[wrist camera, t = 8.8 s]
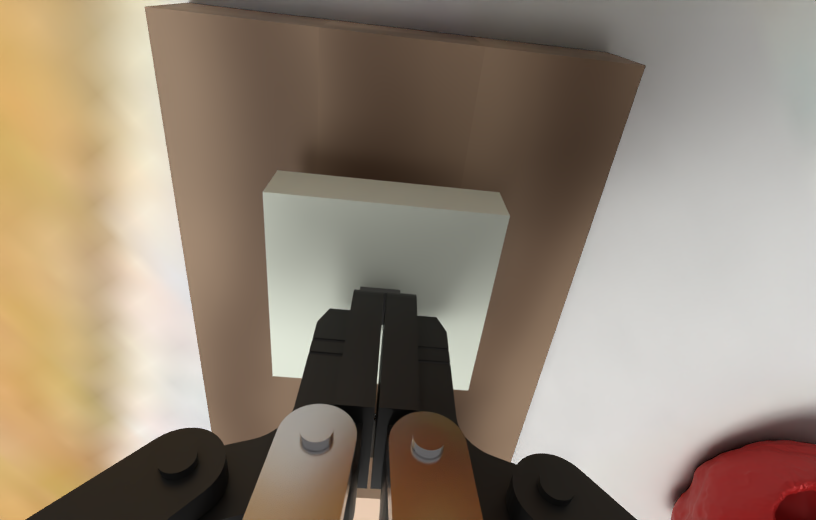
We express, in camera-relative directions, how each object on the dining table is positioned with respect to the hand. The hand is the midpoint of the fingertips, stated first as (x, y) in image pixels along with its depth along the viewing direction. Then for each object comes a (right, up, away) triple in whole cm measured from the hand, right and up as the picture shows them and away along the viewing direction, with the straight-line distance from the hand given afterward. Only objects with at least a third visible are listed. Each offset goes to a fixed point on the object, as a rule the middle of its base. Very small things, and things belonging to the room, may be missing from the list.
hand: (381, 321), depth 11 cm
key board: (-1, -5, +10) cm, 11 cm away
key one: (0, +2, +4) cm, 5 cm away
